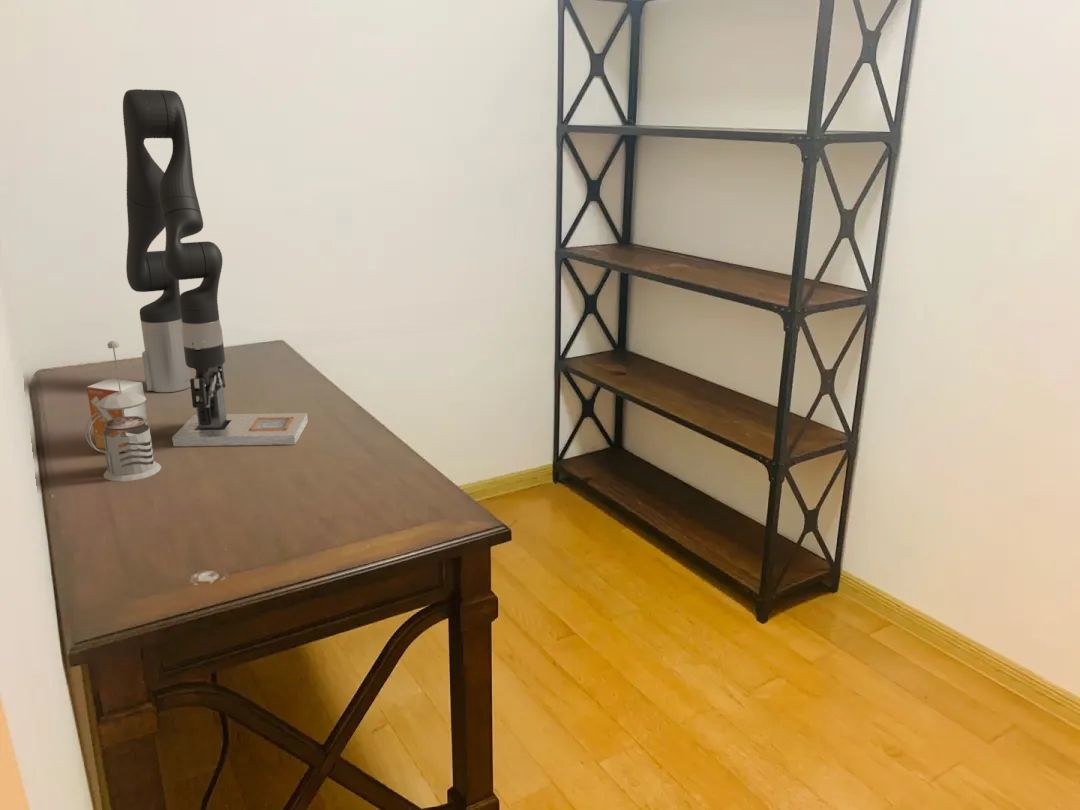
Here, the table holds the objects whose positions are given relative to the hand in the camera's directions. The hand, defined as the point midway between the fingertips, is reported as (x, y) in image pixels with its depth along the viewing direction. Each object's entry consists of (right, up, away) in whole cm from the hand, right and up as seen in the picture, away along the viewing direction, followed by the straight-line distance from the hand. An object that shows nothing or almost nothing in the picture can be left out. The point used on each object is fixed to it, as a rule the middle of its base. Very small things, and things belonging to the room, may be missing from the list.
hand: (212, 417), depth 174 cm
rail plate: (+6, -3, +2) cm, 7 cm away
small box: (-15, -6, -6) cm, 18 cm away
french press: (-8, -10, -18) cm, 23 cm away
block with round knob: (0, -3, +1) cm, 4 cm away
